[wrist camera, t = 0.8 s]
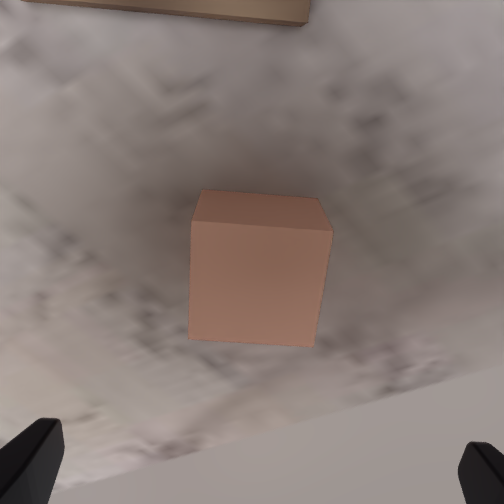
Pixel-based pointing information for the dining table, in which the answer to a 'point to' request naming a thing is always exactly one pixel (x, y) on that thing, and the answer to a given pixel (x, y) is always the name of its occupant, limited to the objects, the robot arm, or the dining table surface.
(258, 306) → the terracotta block
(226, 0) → the walnut base block
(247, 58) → the dining table surface
